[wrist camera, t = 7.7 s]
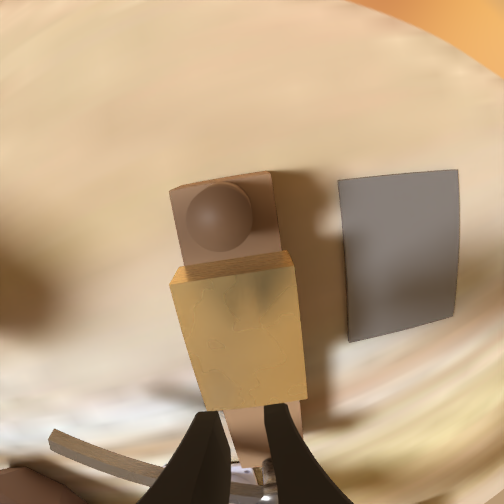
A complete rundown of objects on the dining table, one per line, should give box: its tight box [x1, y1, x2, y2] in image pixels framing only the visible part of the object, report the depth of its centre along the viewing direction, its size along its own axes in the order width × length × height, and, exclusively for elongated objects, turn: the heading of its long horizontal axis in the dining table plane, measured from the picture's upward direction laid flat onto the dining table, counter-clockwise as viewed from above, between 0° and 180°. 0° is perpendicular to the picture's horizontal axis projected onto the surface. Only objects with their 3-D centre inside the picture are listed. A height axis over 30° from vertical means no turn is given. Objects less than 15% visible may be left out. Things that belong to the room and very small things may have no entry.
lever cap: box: [169, 250, 308, 411], centre depth 15 cm, size 7×5×2 cm
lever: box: [48, 429, 278, 504], centre depth 16 cm, size 15×2×4 cm, turn 73°
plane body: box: [169, 171, 303, 468], centre depth 17 cm, size 19×4×6 cm, turn 9°
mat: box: [338, 170, 459, 343], centre depth 18 cm, size 10×8×1 cm
